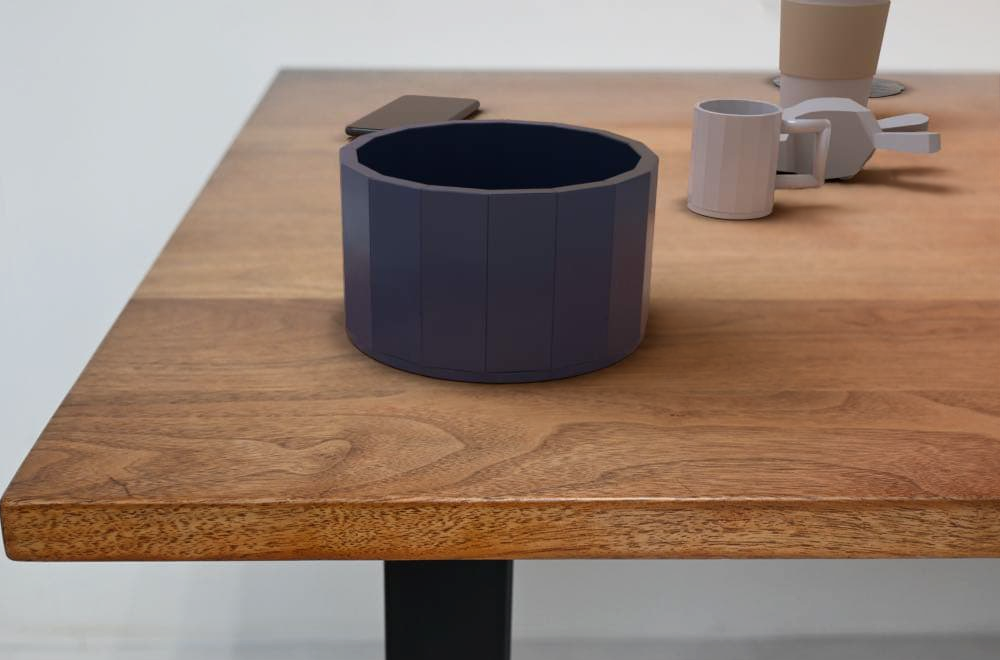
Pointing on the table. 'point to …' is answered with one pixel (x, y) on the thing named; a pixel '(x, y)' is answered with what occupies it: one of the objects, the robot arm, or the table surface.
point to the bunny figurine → (851, 137)
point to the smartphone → (413, 113)
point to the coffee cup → (829, 48)
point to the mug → (746, 157)
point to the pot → (497, 248)
